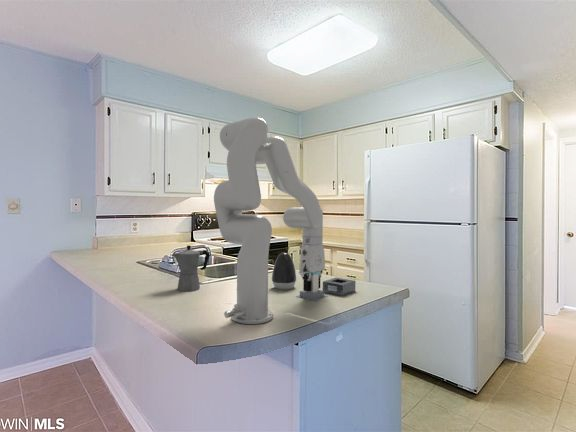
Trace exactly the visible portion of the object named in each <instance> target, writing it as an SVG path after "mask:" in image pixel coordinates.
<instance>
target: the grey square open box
mask: <svg viewBox="0 0 576 432" xmlns="http://www.w3.org/2000/svg"><path fill="white" fill-rule="evenodd" d="M295 298H298V299H303V300H306V301H311V302H317V301H319V300H322V299H326V298H329V296H328V295H325V293H324V291H323V289H322V290H321V289H319V290H318V292H316V293H309V292H305V291H304V290H303V289H302V290H300V291H299V295H296V296H295Z"/></svg>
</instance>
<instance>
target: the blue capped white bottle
mask: <svg viewBox="0 0 576 432" xmlns="http://www.w3.org/2000/svg"><path fill="white" fill-rule="evenodd" d="M307 272H308V271H307ZM306 274H307V276H308V273H306ZM310 281H311V291H310V292H309V291H305V292H309V293H316V292H318V290H320V288H319V272H315V273H311V278H310Z"/></svg>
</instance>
